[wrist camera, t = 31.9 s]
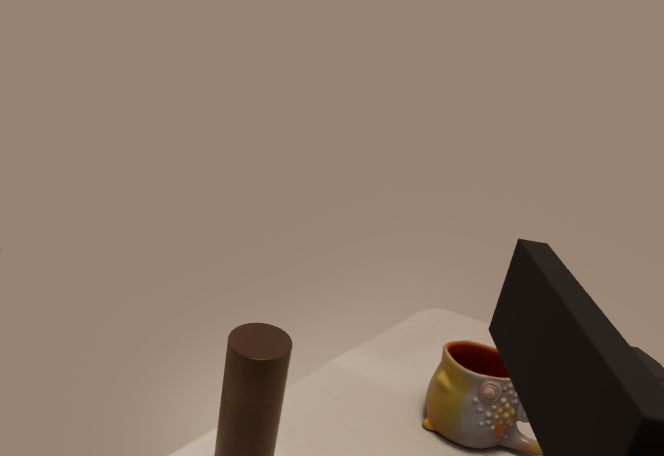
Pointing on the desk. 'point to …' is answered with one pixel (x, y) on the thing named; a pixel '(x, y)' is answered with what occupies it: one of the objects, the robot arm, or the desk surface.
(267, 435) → the brown cylinder rod
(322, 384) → the desk surface
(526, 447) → the mug
